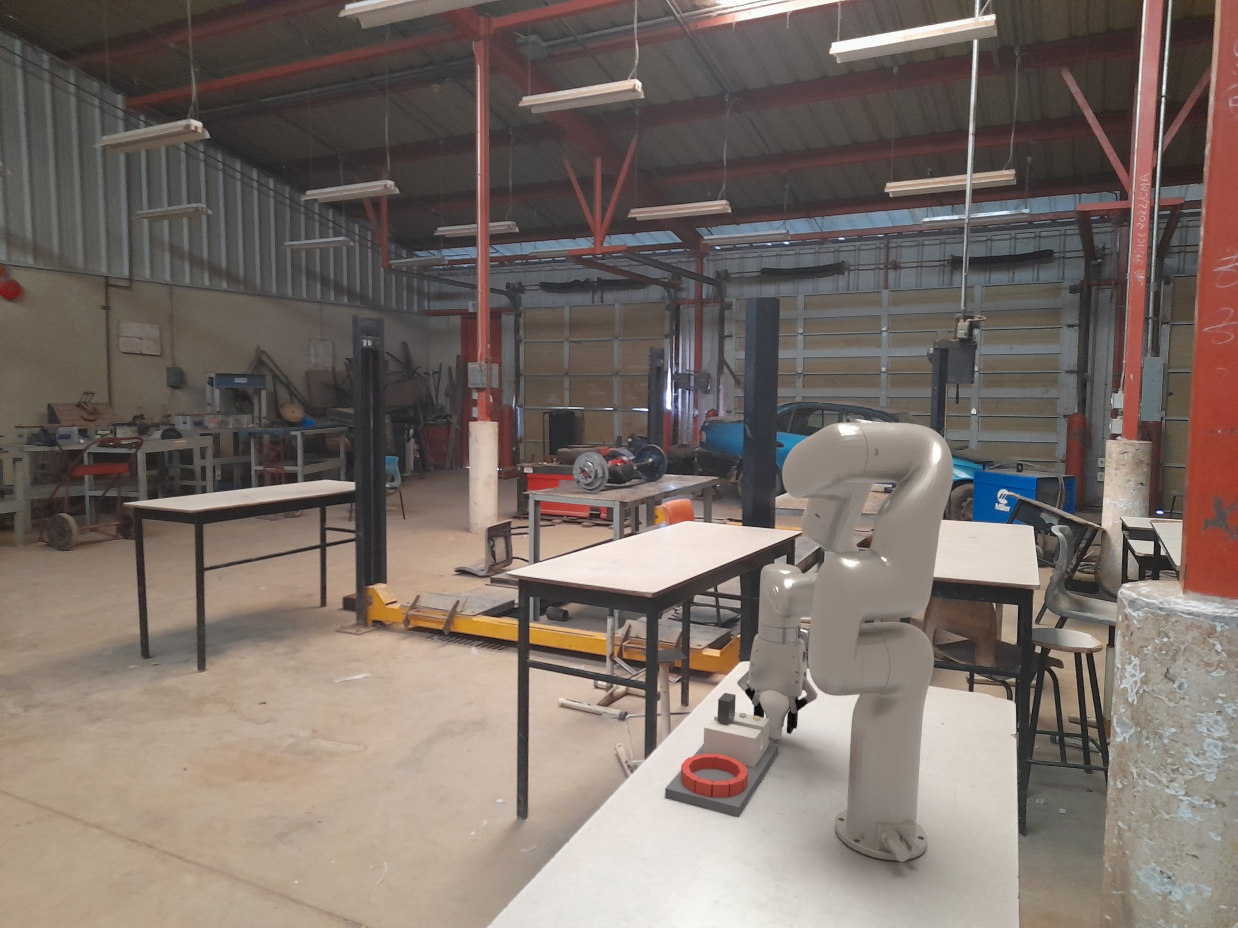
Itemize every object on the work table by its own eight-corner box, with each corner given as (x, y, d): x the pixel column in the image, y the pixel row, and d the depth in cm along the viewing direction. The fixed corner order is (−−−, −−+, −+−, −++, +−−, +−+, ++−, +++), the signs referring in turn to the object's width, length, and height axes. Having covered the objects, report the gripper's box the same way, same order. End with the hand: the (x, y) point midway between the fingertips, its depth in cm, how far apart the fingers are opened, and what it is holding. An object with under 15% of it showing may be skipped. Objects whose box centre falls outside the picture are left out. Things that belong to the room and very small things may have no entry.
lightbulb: (789, 733, 148) (791, 676, 147) (793, 747, 141) (795, 688, 141) (756, 731, 148) (758, 675, 147) (759, 745, 142) (760, 686, 141)
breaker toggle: (727, 742, 135) (729, 701, 134) (716, 740, 136) (718, 699, 135) (734, 734, 138) (735, 694, 138) (723, 732, 139) (724, 692, 139)
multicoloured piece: (738, 816, 118) (740, 772, 117) (665, 797, 123) (666, 755, 122) (778, 752, 139) (780, 715, 139) (714, 738, 145) (715, 702, 144)
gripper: (830, 633, 143) (825, 729, 144) (740, 620, 150) (736, 711, 152) (822, 645, 136) (817, 745, 138) (728, 630, 143) (724, 725, 145)
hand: (775, 726), depth 145 cm, fingers closed on lightbulb, 5 cm apart
